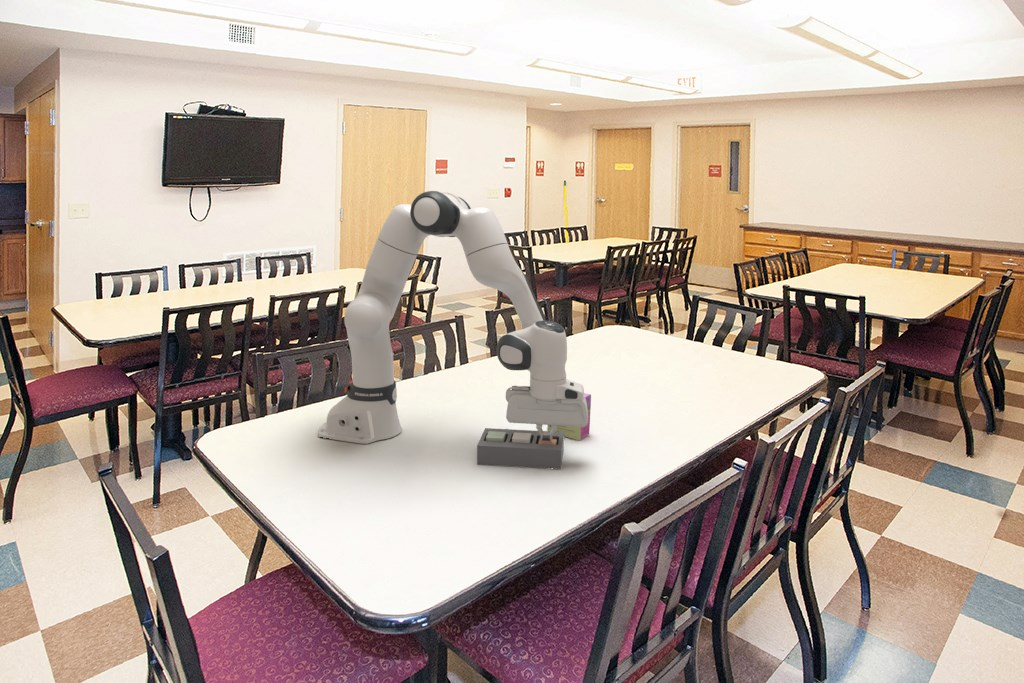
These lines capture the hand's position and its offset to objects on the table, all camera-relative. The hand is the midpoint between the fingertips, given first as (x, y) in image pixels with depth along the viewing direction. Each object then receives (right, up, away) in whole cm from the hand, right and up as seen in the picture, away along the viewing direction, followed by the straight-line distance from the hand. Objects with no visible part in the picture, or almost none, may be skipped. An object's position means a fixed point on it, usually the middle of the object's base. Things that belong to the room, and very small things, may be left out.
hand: (546, 440), depth 172 cm
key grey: (-6, -1, +1) cm, 6 cm away
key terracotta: (0, -2, +1) cm, 2 cm away
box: (+7, -1, +18) cm, 19 cm away
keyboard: (-6, -5, +2) cm, 8 cm away
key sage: (-13, -1, +2) cm, 13 cm away
